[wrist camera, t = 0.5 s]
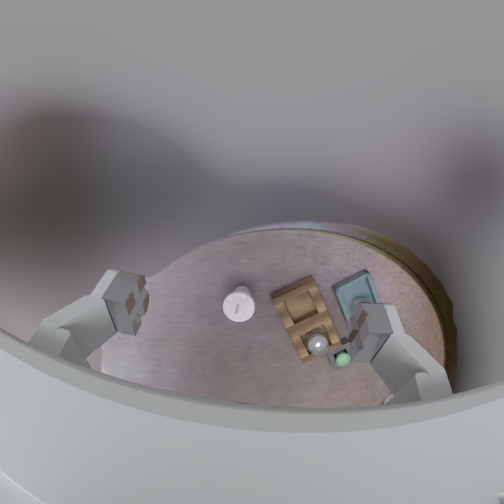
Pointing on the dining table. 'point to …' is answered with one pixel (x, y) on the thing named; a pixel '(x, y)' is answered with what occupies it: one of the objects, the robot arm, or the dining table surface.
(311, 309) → the brown wooden tray
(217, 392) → the dining table surface
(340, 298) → the tray
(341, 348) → the button housing
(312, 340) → the billet seated
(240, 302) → the smoothie
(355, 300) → the billet
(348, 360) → the button
